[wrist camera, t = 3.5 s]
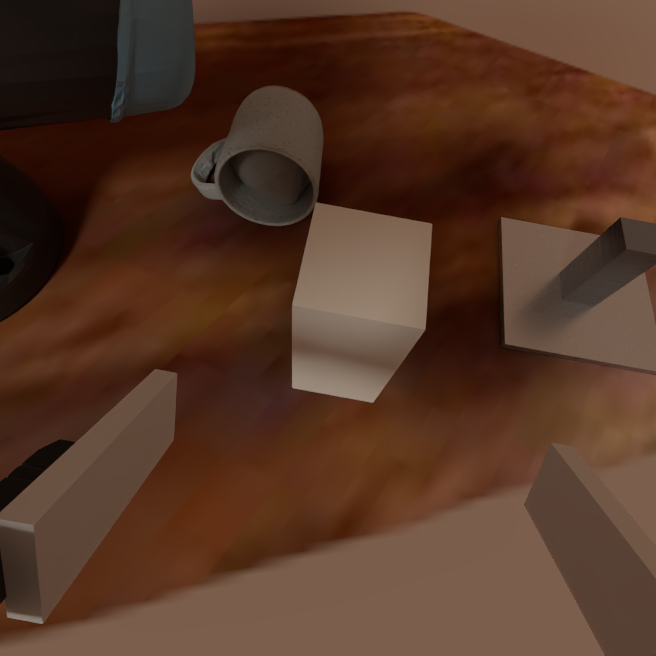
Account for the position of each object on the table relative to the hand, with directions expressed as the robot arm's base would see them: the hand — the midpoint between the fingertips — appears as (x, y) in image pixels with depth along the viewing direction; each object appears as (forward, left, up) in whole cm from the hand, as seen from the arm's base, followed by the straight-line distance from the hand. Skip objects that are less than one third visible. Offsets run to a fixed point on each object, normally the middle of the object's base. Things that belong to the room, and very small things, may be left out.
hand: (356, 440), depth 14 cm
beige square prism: (-7, +3, -12) cm, 15 cm away
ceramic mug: (-23, +3, -13) cm, 27 cm away
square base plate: (-6, +23, -12) cm, 27 cm away
